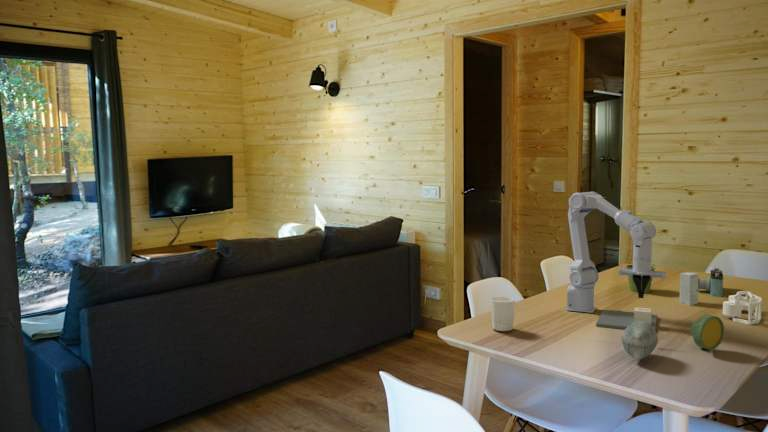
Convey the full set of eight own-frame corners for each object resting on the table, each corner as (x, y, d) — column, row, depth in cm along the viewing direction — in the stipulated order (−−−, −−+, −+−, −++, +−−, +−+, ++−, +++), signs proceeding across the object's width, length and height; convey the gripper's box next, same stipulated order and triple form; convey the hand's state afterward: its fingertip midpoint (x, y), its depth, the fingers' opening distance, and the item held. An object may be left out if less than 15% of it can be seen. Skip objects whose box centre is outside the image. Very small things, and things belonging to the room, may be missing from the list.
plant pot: (657, 291, 244) (657, 265, 243) (653, 297, 234) (653, 270, 233) (627, 288, 250) (627, 263, 249) (622, 294, 240) (622, 267, 239)
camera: (695, 288, 249) (696, 265, 248) (721, 290, 244) (722, 267, 243) (695, 296, 234) (696, 272, 233) (722, 299, 230) (723, 274, 229)
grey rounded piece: (625, 336, 176) (624, 309, 172) (660, 341, 171) (660, 313, 167) (618, 365, 165) (617, 337, 161) (655, 371, 161) (655, 342, 156)
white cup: (500, 333, 190) (500, 303, 189) (486, 327, 197) (485, 298, 196) (519, 329, 193) (519, 300, 192) (504, 323, 200) (504, 295, 199)
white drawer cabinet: (633, 324, 194) (634, 310, 193) (634, 320, 198) (635, 306, 198) (650, 325, 192) (651, 312, 191) (651, 321, 196) (651, 308, 196)
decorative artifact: (700, 352, 168) (701, 318, 167) (679, 345, 174) (680, 312, 173) (723, 347, 172) (724, 314, 171) (702, 340, 178) (703, 309, 177)
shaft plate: (596, 326, 195) (596, 314, 195) (603, 312, 213) (603, 301, 213) (654, 332, 187) (655, 320, 187) (657, 317, 205) (657, 305, 204)
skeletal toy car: (730, 308, 216) (731, 289, 215) (765, 313, 209) (766, 293, 208) (719, 320, 200) (720, 299, 200) (757, 325, 193) (758, 304, 193)
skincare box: (689, 306, 219) (690, 275, 218) (678, 304, 222) (679, 273, 221) (698, 304, 222) (699, 273, 221) (687, 302, 226) (688, 271, 225)
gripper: (617, 258, 194) (616, 297, 196) (665, 261, 188) (664, 302, 189) (619, 255, 201) (618, 293, 202) (666, 257, 194) (665, 297, 195)
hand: (641, 297), depth 196 cm, fingers closed
